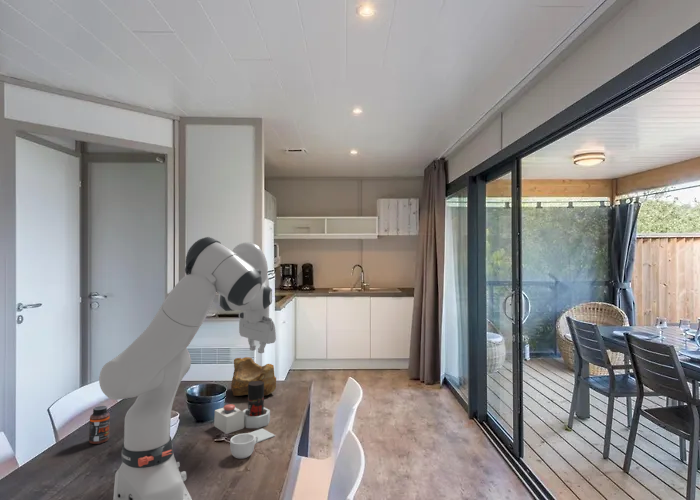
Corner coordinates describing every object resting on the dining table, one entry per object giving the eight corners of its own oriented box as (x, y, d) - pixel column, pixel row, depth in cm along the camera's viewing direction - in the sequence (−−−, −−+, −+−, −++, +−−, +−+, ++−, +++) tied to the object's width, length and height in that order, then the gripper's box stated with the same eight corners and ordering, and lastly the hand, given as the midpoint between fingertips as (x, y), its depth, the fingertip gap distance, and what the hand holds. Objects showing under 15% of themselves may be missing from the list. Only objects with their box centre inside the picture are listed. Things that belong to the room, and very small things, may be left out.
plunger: (236, 421, 155) (236, 406, 155) (226, 425, 152) (227, 409, 152) (231, 418, 157) (231, 403, 158) (221, 421, 155) (221, 406, 155)
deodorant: (244, 423, 158) (244, 384, 158) (254, 418, 163) (255, 380, 163) (256, 427, 155) (257, 386, 155) (266, 421, 161) (267, 382, 161)
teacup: (239, 464, 128) (240, 446, 128) (224, 456, 133) (225, 439, 133) (264, 452, 136) (265, 435, 136) (249, 445, 141) (250, 429, 141)
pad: (275, 436, 148) (275, 435, 148) (255, 443, 142) (255, 442, 142) (262, 429, 153) (262, 428, 153) (243, 435, 148) (243, 434, 148)
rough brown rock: (215, 396, 190) (215, 364, 189) (242, 383, 204) (241, 353, 203) (254, 407, 179) (254, 373, 177) (279, 393, 193) (279, 361, 192)
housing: (274, 422, 159) (274, 407, 159) (231, 437, 146) (231, 420, 146) (256, 413, 168) (256, 398, 168) (214, 426, 155) (214, 410, 155)
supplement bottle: (99, 445, 139) (100, 411, 139) (84, 443, 140) (85, 410, 140) (113, 438, 144) (114, 405, 144) (98, 436, 146) (99, 403, 146)
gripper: (280, 317, 154) (279, 355, 154) (250, 311, 169) (249, 345, 169) (265, 319, 150) (265, 358, 150) (236, 313, 164) (235, 348, 164)
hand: (256, 351), depth 159 cm, fingers open, 4 cm apart
